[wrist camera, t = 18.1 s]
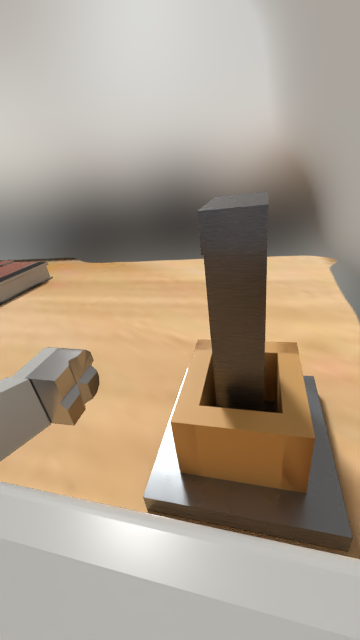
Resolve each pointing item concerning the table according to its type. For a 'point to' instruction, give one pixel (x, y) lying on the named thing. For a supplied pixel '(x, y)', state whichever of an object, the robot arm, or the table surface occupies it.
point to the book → (20, 278)
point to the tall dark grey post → (236, 295)
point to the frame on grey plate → (252, 456)
